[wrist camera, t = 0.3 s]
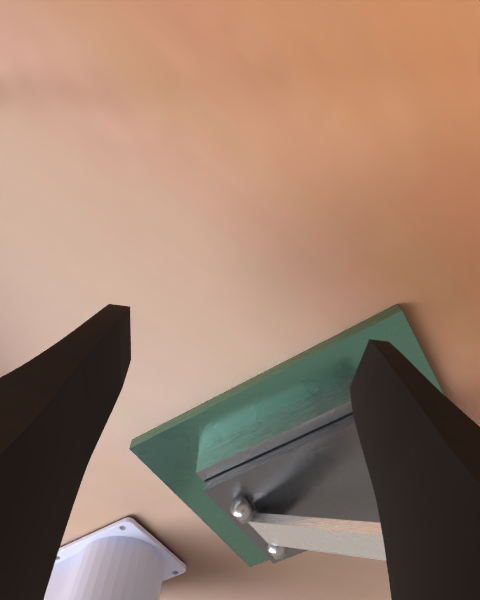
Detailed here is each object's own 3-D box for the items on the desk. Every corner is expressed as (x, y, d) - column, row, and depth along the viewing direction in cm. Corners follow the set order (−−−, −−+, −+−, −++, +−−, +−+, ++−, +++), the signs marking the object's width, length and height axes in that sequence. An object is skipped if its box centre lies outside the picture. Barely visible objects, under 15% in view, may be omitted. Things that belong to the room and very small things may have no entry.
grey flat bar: (271, 535, 26) (269, 544, 26) (250, 512, 25) (247, 521, 25) (427, 554, 20) (427, 566, 20) (407, 525, 19) (407, 537, 19)
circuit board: (249, 557, 33) (252, 628, 29) (132, 439, 27) (111, 505, 23) (478, 467, 29) (524, 533, 24) (396, 304, 23) (437, 351, 18)
